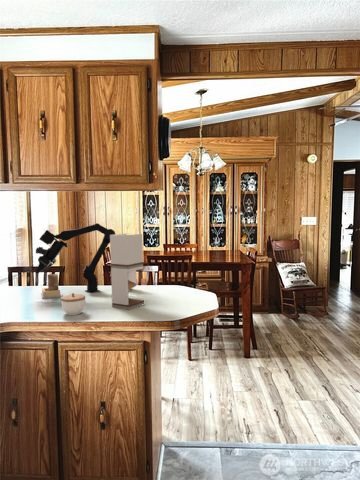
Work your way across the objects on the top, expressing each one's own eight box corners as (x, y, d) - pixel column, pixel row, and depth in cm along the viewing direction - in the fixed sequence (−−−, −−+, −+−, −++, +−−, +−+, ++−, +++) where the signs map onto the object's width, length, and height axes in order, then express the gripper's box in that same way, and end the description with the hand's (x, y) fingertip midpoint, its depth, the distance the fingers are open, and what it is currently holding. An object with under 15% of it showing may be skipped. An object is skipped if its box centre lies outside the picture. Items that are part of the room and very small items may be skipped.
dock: (60, 292, 213) (60, 286, 213) (63, 296, 202) (62, 290, 202) (41, 294, 209) (40, 288, 208) (42, 298, 198) (42, 292, 197)
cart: (57, 292, 209) (57, 273, 209) (58, 294, 204) (58, 275, 203) (48, 293, 207) (47, 274, 207) (49, 295, 202) (48, 276, 201)
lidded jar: (76, 309, 175) (76, 289, 174) (90, 312, 168) (90, 292, 167) (56, 314, 166) (55, 293, 166) (70, 318, 160) (69, 296, 159)
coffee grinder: (129, 309, 172) (127, 235, 169) (112, 307, 177) (109, 234, 175) (144, 304, 181) (142, 233, 179) (127, 301, 187) (125, 233, 184)
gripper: (46, 241, 216) (30, 263, 215) (38, 241, 197) (21, 265, 196) (62, 252, 217) (47, 274, 216) (56, 253, 199) (39, 276, 197)
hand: (38, 272), depth 206 cm, fingers open, 9 cm apart
